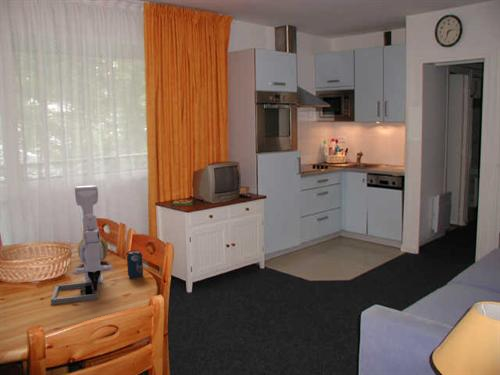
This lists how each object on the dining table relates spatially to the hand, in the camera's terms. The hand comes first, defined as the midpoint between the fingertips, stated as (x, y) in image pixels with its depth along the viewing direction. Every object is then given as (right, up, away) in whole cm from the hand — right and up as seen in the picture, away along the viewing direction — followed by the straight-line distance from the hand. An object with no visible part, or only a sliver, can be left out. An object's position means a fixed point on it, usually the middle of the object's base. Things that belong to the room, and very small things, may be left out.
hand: (95, 287), depth 210 cm
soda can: (+13, +1, +19) cm, 23 cm away
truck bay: (-7, -2, -2) cm, 8 cm away
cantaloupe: (-14, +4, +41) cm, 43 cm away
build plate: (-2, -3, -1) cm, 4 cm away
